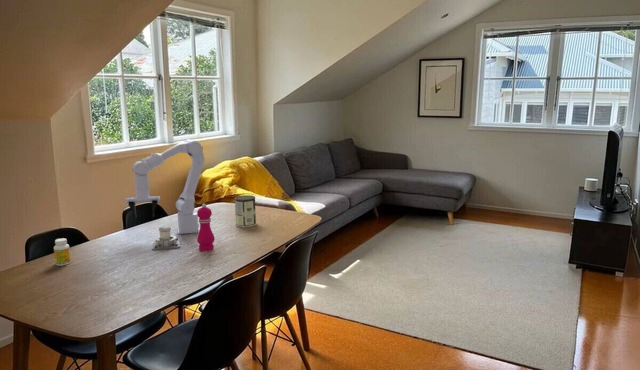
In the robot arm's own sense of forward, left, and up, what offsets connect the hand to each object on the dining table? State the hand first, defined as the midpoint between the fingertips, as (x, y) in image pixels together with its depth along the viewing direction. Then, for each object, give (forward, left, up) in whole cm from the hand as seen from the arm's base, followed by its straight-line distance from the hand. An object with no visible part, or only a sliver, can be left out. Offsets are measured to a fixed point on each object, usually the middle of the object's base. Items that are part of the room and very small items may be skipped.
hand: (144, 217), depth 221 cm
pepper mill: (-26, +24, -10) cm, 37 cm away
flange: (-10, +14, -10) cm, 19 cm away
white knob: (-9, +13, -9) cm, 19 cm away
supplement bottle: (+29, +26, -10) cm, 40 cm away
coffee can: (-47, -10, -10) cm, 49 cm away
